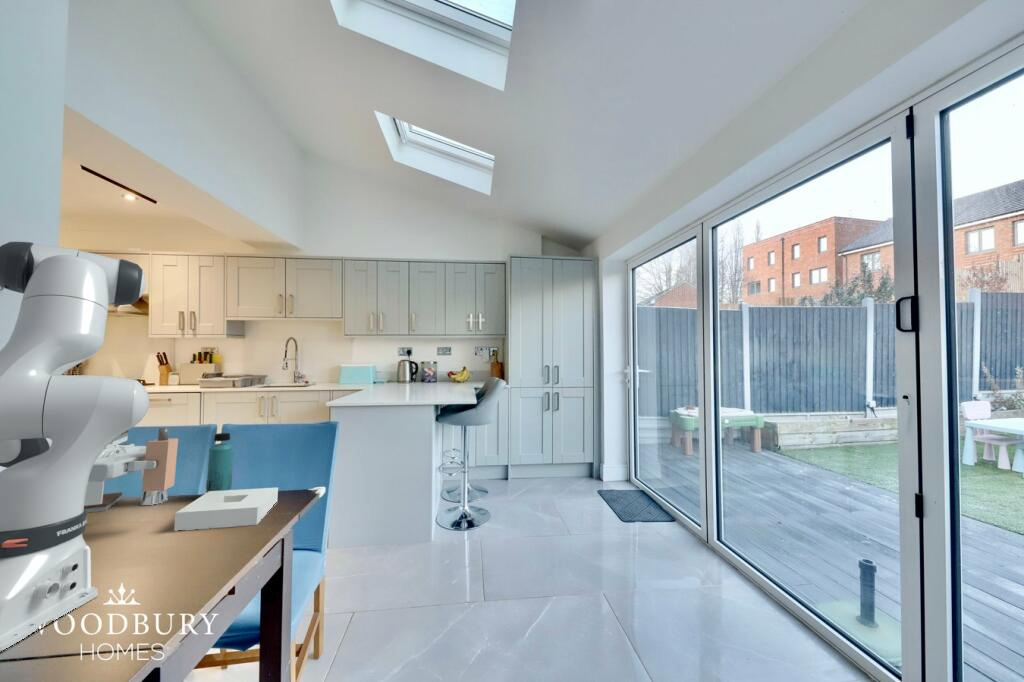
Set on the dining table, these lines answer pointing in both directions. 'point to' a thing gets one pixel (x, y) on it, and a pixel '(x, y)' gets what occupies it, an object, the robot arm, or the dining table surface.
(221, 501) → the socket
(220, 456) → the beverage bottle
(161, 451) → the plug
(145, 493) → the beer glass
